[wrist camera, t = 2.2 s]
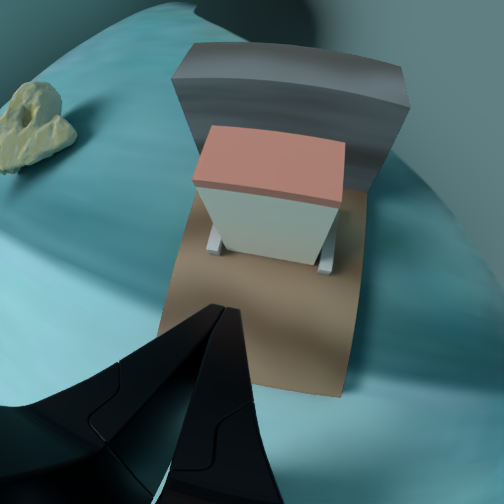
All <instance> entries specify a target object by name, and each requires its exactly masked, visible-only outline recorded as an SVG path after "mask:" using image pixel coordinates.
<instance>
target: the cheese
mask: <svg viewBox="0 0 504 504" xmlns="http://www.w3.org/2000/svg"><path fill="white" fill-rule="evenodd" d="M61 107H62V100H61V96H60V95H59V94H58V92H57V91H56V89H55V88H54V87H53V86H52V85H51V84H50V83H47V82H37V81H34V82H28V83H24V84H23V85H21V87H20V88H19V89H18V90H17V91H16V92H15V93H14V95H13V97H12V99H11V101H10V103H9V106H8V108H7V110H6V112H5V113H4V114H3V115H2V117H1V118H0V173H2V174H3V175H6V173H10V174H16V173H17V171H18V169H19V167H22V166H24V165H32V164H34V163H36V162H38V161H40V160H42V159H44V158H48V157H50V156H52V155H53V154H54V153H55V152H58V151H61V150H62V149H64V148H66V147H68V146H71V145H72V144H73V143H74V142H75V140H76V138H77V132H76V131H75V129H74V128H73V127H72V125H71V124H70V123H69V122H68V121H67V120H65V119H64V118H63V117H62V116H61V111H62V110H61Z"/></svg>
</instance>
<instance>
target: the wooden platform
mask: <svg viewBox="0 0 504 504" xmlns="http://www.w3.org/2000/svg"><path fill="white" fill-rule="evenodd" d="M171 80H172V83H173V86H174V88H175V91H176V94H177V96H178V99H179V102H180V104H181V107H182V110H183V112H184V115H185V118H186V120H187V123H188V125H189V128H190V131H191V133H192V136H193V138H194V141H195V144H196V146H197V149H198V151H199V154H200V155H201V153H202V150H203V147H204V145H205V142H206V139H207V137H208V134H209V131H210V129H211V126H212V125H214V126H228V127H240V128H251V129H260V130H269V131H277V132H285V133H292V134H299V135H305V136H312V137H317V138H323V139H329V140H334V141H339V142H344V143H345V160H344V177H343V191H342V202H341V204H340V207H339V209H338V211H337V214H336V216H335V218H334V221H333V223H332V225H331V228H330V230H329V232H328V234H327V237H326V239H325V241H324V243H323V245H322V248H321V250H320V252H319V254H318V256H317V258H316V261H315V263H314V265H309V264H304V263H298V262H292V261H287V260H281V259H275V258H270V257H264V256H259V255H253V254H247V253H242V252H236V251H231V250H227V249H226V247H225V245H224V243H223V241H222V239H221V237H220V235H219V233H218V231H217V229H216V227H215V225H214V223H213V221H212V219H211V217H210V215H209V213H208V211H207V209H206V207H205V205H204V203H203V201H202V199H201V197H200V195H199V193H198V191H197V192H196V196H195V199H194V202H193V205H192V208H191V211H190V215H189V218H188V221H187V224H186V228H185V231H184V234H183V238H182V241H181V245H180V248H179V252H178V255H177V259H176V262H175V266H174V270H173V273H172V277H171V281H170V285H169V289H168V293H167V297H166V300H165V305H164V309H163V313H162V317H161V321H160V325H159V330H158V334H157V337H158V336H160V335H162V334H163V333H165V332H166V331H168V330H170V329H171V328H173V327H174V326H176V325H177V324H179V323H181V322H182V321H184V320H185V319H187V318H189V317H190V316H192V315H193V314H195V313H196V312H198V311H200V310H201V309H203V308H204V307H206V306H207V305H209V304H211V303H214V304H219V305H223V306H225V308H226V307H233V308H238V309H240V310H241V316H242V323H243V330H244V337H245V344H246V351H247V358H248V365H249V372H250V378H251V384H256V385H261V386H266V387H272V388H277V389H283V390H288V391H295V392H301V393H308V394H315V395H322V396H331V397H339V398H341V394H342V390H343V386H344V381H345V376H346V371H347V367H348V362H349V356H350V351H351V346H352V340H353V334H354V328H355V322H356V315H357V308H358V301H359V293H360V285H361V276H362V267H363V256H364V245H365V231H366V215H367V193H368V191H369V189H370V187H371V186H372V184H373V182H374V180H375V178H376V176H377V174H378V172H379V171H380V169H381V167H382V165H383V163H384V161H385V159H386V157H387V155H388V153H389V151H390V149H391V147H392V145H393V143H394V141H395V139H396V137H397V135H398V133H399V131H400V129H401V127H402V125H403V123H404V121H405V118H406V116H407V114H408V112H409V110H410V103H409V99H408V94H407V90H406V85H405V81H404V77H403V73H402V70H401V67H400V66H396V65H393V64H389V63H386V62H382V61H378V60H374V59H370V58H365V57H361V56H357V55H352V54H347V53H342V52H336V51H330V50H325V49H318V48H310V47H303V46H294V45H283V44H272V43H253V42H207V43H194V44H193V46H192V47H191V49H190V50H189V52H188V53H187V54H186V56H185V57H184V59H183V60H182V62H181V64H180V65H179V67H178V68H177V70H176V71H175V73H174V74H173V76H172V78H171Z"/></svg>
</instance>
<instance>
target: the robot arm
mask: <svg viewBox="0 0 504 504" xmlns="http://www.w3.org/2000/svg"><path fill="white" fill-rule="evenodd" d="M171 461H172V462H171ZM170 463H171V466H170V471H169V473H168V476H167V479H166V482H165V485H164V487H163V490H162V492H161V494H160V496H159V498H158V499H157V501H156V503H155V504H284V501H283V499H282V497H281V494H280V491H279V489H278V486H277V483H276V480H275V478H274V475H273V472H272V469H271V467H270V464H269V461H268V458H267V455H266V452H265V449H264V446H263V442H262V439H261V435H260V431H259V426H258V421H257V416H256V410H255V404H254V398H253V391H252V385H251V378H250V372H249V365H248V358H247V351H246V344H245V337H244V330H243V323H242V316H241V310H240V309H238V308H233V307H226V308H225V306H223V305H219V304H214V303H211V304H209V305H207V306H206V307H204V308H203V309H201V310H200V311H198V312H196V313H195V314H193V315H192V316H190V317H189V318H187V319H185V320H184V321H182V322H181V323H179V324H177V325H176V326H174V327H173V328H171V329H170V330H168V331H166V332H165V333H163V334H162V335H160V336H158V337H157V338H155V339H154V340H152V341H150V342H149V343H147V344H146V345H144V346H142V347H141V348H139V349H138V350H136V351H134V352H133V353H131V354H129V355H128V356H126V357H125V358H123V359H121V360H120V361H119V363H118V362H116V363H115V364H113V365H111V366H110V367H108V368H106V369H105V370H103V371H101V372H99V373H98V374H96V375H94V376H92V377H90V378H88V379H86V380H84V381H82V382H80V383H78V384H76V385H74V386H72V387H70V388H68V389H65V390H63V391H61V392H59V393H56V394H54V395H52V396H49V397H47V398H45V399H43V400H40V401H38V402H35V403H33V404H30V405H26V406H19V407H8V406H0V504H151V502H152V500H153V497H154V496H155V494H156V492H157V490H158V488H159V486H160V484H161V482H162V480H163V478H164V476H165V473H166V471H167V469H168V467H169V465H170Z"/></svg>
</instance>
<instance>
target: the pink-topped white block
mask: <svg viewBox="0 0 504 504" xmlns="http://www.w3.org/2000/svg"><path fill="white" fill-rule="evenodd" d="M344 160H345V143H344V142H339V141H334V140H329V139H323V138H317V137H312V136H305V135H299V134H292V133H285V132H277V131H269V130H260V129H251V128H240V127H228V126H214V125H212V126H211V129H210V131H209V134H208V137H207V139H206V142H205V145H204V147H203V150H202V153H201V155H200V158H199V161H198V164H197V166H196V169H195V172H194V175H193V178H192V181H193V183H194V185H195V187H196V189H197V191H198V193H199V195H200V197H201V199H202V201H203V203H204V205H205V207H206V209H207V211H208V213H209V215H210V217H211V219H212V221H213V223H214V225H215V227H216V229H217V231H218V233H219V235H220V237H221V239H222V241H223V243H224V245H225V247H226V249H227V250H231V251H236V252H242V253H247V254H253V255H259V256H264V257H270V258H275V259H281V260H287V261H292V262H298V263H304V264H309V265H314V263H315V261H316V258H317V256H318V254H319V252H320V250H321V248H322V245H323V243H324V241H325V239H326V237H327V234H328V232H329V230H330V228H331V225H332V223H333V221H334V218H335V216H336V214H337V211H338V209H339V207H340V204H341V202H342V191H343V177H344Z"/></svg>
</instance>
